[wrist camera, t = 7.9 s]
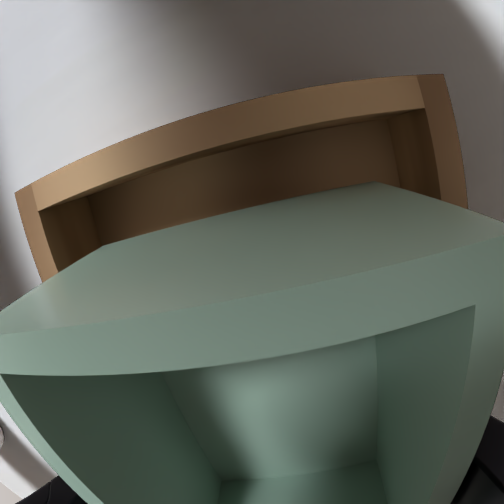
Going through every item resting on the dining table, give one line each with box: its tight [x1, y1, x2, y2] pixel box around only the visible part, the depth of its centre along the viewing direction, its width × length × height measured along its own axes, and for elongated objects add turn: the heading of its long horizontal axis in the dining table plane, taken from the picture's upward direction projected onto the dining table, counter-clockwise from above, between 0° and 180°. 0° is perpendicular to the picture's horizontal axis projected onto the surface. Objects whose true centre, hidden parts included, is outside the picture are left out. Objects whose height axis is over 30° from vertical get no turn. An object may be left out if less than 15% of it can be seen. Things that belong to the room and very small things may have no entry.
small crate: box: [0, 181, 504, 504], centre depth 6 cm, size 7×10×5 cm
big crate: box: [15, 74, 468, 283], centre depth 10 cm, size 12×15×4 cm
